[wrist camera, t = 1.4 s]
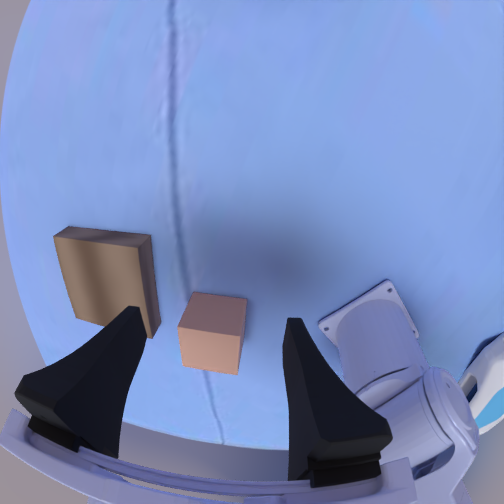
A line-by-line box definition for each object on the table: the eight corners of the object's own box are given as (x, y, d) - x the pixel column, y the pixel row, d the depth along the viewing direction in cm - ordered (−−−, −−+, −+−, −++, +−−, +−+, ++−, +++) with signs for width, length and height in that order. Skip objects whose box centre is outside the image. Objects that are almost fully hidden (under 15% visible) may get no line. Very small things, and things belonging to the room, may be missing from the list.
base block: (152, 233, 23) (137, 247, 20) (162, 320, 28) (152, 338, 25) (70, 224, 24) (53, 236, 21) (88, 302, 28) (76, 318, 25)
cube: (247, 298, 25) (240, 336, 20) (243, 337, 27) (237, 375, 23) (193, 291, 25) (177, 326, 21) (196, 330, 27) (182, 365, 23)
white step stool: (551, 309, 22) (568, 331, 17) (493, 404, 34) (502, 424, 29) (479, 338, 25) (498, 370, 20) (422, 432, 37) (428, 456, 32)
